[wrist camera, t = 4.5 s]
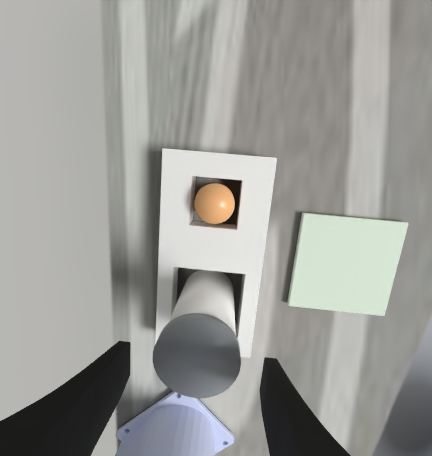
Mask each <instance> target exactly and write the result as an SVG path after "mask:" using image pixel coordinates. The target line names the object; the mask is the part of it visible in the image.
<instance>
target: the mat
mask: <svg viewBox="0 0 432 456" xmlns="http://www.w3.org/2000/svg"><path fill="white" fill-rule="evenodd" d="M407 227H408V223H407V222H401V221H390V220H379V219H368V218H357V217H346V216H336V215H325V214H314V213H303V212H302V217H301V223H300V229H299V235H298V241H297V247H296V253H295V259H294V265H293V271H292V278H291V284H290V290H289V296H288V302H287V303H288V305H289V306H295V307H304V308H314V309H323V310H333V311H342V312H352V313H361V314H371V315H380V316H384V315H385V311H386V307H387V304H388V300H389V296H390V292H391V288H392V285H393V281H394V277H395V273H396V269H397V265H398V262H399V258H400V254H401V250H402V246H403V243H404V239H405V235H406V231H407Z"/></svg>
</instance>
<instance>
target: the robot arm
mask: <svg viewBox="0 0 432 456" xmlns="http://www.w3.org/2000/svg"><path fill="white" fill-rule="evenodd" d="M129 376H130V342H124V341H119V342H117V343H116V344H115V345H114V346H112V347H111V348H110V349H109V350H107V352H105V353H104V354H103V355H101V356H100V357H99V358H98V359H96V360H95V361H94V362H93V363H91V364H90V365H89V366H87V367H86V368H85V369H84V370H82V371H81V372H80V373H78V374H77V375H76V376H74V377H73V378H71V379H70V380H69V381H67V382H66V383H65V384H63V385H62V386H60V387H59V388H57V389H56V390H54V391H53V392H51V393H50V394H48V395H46V396H45V397H43V398H41V399H40V400H38V401H36V402H35V403H33V404H31V405H29V406H27V407H26V408H24V409H22V410H20V411H19V412H17V413H15V414H13V415H11V416H10V417H8V418H6V419H4V420H2V421H0V456H91V454H92V452H93V449H94V447H95V445H96V444H97V442H98V440H99V438H100V436H101V434H102V432H103V430H104V428H105V427H106V425H107V423H108V421H109V419H110V417H111V415H112V413H113V411H114V409H115V408H116V406H117V404H118V402H119V400H120V398H121V396H122V393H123V391H124V389H125V386H126V384H127V381H128V378H129ZM260 398H261V409H262V416H263V422H264V427H265V432H266V438H267V443H268V448H269V453H270V456H350V455H349V454H348V453H347V452H346V450H345V449H344V448H343V447H342V446H341V445H340V444H339V443H338V442H337V441H336V440H335V439H334V438H333V437H332V435H331V434H330V433H329V432H328V431H327V430H326V429H325V427H324V426H323V425H322V424H321V423H320V421H319V420H318V419H317V418H316V416H315V415H314V414H313V412H312V411H311V410H310V408H309V407H308V406H307V404H306V403H305V402H304V400H303V399H302V397H301V396H300V394H299V393H298V392H297V390H296V389H295V387H294V386H293V384H292V383H291V381H290V380H289V378H288V376H287V375H286V373H285V372H284V370H283V368H282V367H281V365H280V363H279V362H278V360H277V359H274V358H265V359H264V365H263V372H262V378H261V385H260ZM116 437H117V438H118V439H119V440H120V441H121V443H120V446H119V448H118V450H117V453H116V455H115V456H215V454H216V453H218V452H219V451H221V450H223V449H224V448H226V447H228V446H229V445H231V444H232V443H234V436H233V434H232V433H231V432H230V431H229V430H228V429H227V428H226V427H225V426H224V425H223V424H222V423H221V422H220V421H219V420H218V419H217V418H216V417H215V416H214V415H213V414H212V413H211V412H210V411H209V410H208V409H207V408H206V407H205V406H204V405H203V404H202V403H201V402H200V401H199V399H198V398H192V397H187V396H183V395H181V394H180V395H178V393H176V392H174V391H173V392H171V393H170V394H168V395H167V396H165V397H164V398H163V399H161V400H160V401H158V402H157V403H155V404H154V405H152V406H151V407H150V408H148V409H147V410H145V411H144V412H142V413H141V414H139V415H138V416H136V417H135V418H134V419H132V420H131V421H129V422H128V423H126V424H125V425H123V426H122V427H120V428H119V429H118V430H117V432H116Z"/></svg>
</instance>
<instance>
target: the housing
mask: <svg viewBox="0 0 432 456" xmlns="http://www.w3.org/2000/svg"><path fill="white" fill-rule="evenodd" d="M276 162H277V158H271V157H259V156H247V155H235V154H223V153H211V152H200V151H188V150H176V149H164V148H163V149H162V176H161V203H160V230H159V257H158V284H157V311H156V339H155V344H156V342H157V340H158V338H159V335H160V333H161V331H162V330H163V328H164V327H165V326H166V325H167V324H168V323H169V321H170V318H171V316H172V313H173V311H174V309H175V306H176V300H177V282H178V267H180V268H190V269H200V270H209V271H219V272H229V273H239V274H243V276H242V284H241V293H240V301H239V310H238V318H237V323H235V332H236V337H237V339H238V342H239V346H240V357H249V358H250V355H251V347H252V340H253V332H254V325H255V318H256V310H257V303H258V295H259V288H260V281H261V273H262V266H263V258H264V251H265V244H266V236H267V229H268V221H269V214H270V207H271V199H272V192H273V184H274V177H275V169H276ZM196 177H208V178H219V179H231V180H241V184H240V194H239V203H238V213H237V222H236V225H233V224H222V223H219V224H210V223H207V222H201V221H193V212H194V197H195V182H196Z"/></svg>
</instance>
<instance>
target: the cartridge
mask: <svg viewBox="0 0 432 456" xmlns="http://www.w3.org/2000/svg"><path fill="white" fill-rule="evenodd" d="M153 364H154V368H155V371H156V373H157V375H158V377H159V378H160V380H161V381H162V382H163V383H164V384H165V385H166V386H167V387H168V388H170V389H171V390H173V391H174V392H176V393H178V394H181V395H183V396H187V397H192V398H207V397H212V396H215V395H218V394H220V393H222V392H224V391H225V390H226V389H228V388H229V387H230V386H231V385H232V384H233V383H234V381H235V380H236V378H237V376H238V374H239V371H240V365H241V359H240V346H239V342H238V339H237V337H236V332H235V312H234V291H233V286H232V283H231V281H230V279H229V278H228V277H227V276H226V275H225V274H224V273H222V272H219V271H209V270H197V271H195V272H194V273H192V274H191V275H190V276H189V277H188V279H187V280H186V283H185V285H184V287H183V290H182V292H181V294H180V297H179V299H178V302H177V304H176V306H175V309H174V311H173V313H172V316H171V318H170V321H169V323H168V324H167V325H166V326H165V327H164V328H163V330H162V331H161V333H160V335H159V338H158V340H157V342H156V344H155V347H154V351H153Z"/></svg>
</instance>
